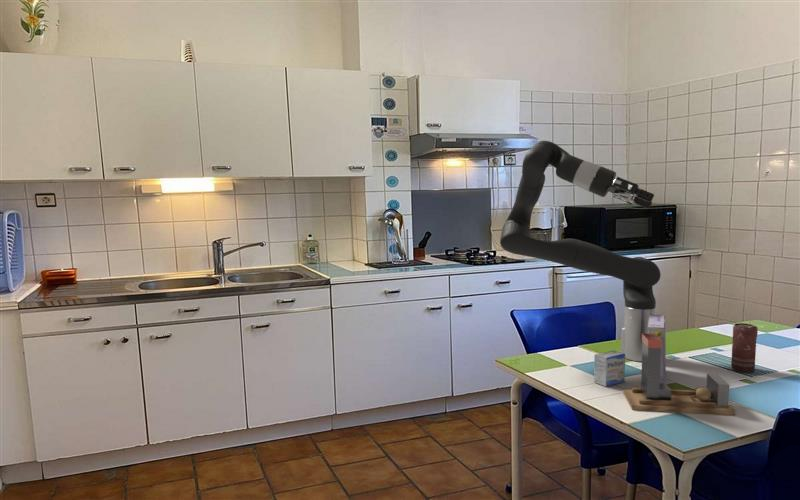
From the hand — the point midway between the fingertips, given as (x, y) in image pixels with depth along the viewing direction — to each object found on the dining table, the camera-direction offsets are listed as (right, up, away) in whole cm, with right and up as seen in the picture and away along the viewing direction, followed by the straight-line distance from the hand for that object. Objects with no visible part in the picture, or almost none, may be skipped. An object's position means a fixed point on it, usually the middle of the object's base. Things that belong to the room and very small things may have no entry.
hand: (651, 202), depth 147 cm
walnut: (+12, -52, -4) cm, 53 cm away
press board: (+5, -53, -2) cm, 53 cm away
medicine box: (-6, -52, +14) cm, 54 cm away
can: (+38, -50, +22) cm, 66 cm away
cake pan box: (+9, -51, +17) cm, 54 cm away
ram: (0, -51, -2) cm, 51 cm away
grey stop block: (+15, -52, -4) cm, 54 cm away
